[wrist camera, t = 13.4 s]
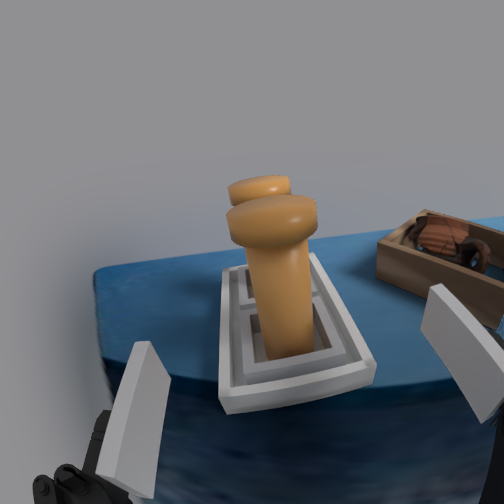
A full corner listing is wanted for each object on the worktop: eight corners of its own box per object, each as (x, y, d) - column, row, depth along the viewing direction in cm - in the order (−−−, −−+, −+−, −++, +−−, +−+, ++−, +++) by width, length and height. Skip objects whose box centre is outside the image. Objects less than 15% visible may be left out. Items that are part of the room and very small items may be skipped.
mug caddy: (422, 237, 36) (424, 209, 34) (512, 269, 23) (520, 238, 21) (375, 277, 29) (377, 242, 27) (496, 330, 17) (511, 292, 15)
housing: (372, 384, 17) (378, 359, 16) (226, 414, 17) (216, 393, 16) (314, 269, 34) (313, 247, 32) (226, 285, 34) (221, 264, 32)
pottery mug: (385, 280, 29) (395, 211, 29) (423, 285, 33) (432, 227, 33) (473, 301, 18) (484, 212, 18) (495, 301, 22) (504, 232, 22)
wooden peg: (293, 320, 25) (277, 191, 20) (336, 348, 21) (334, 202, 15) (245, 349, 22) (211, 213, 17) (285, 386, 18) (260, 231, 13)
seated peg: (279, 276, 32) (264, 173, 27) (312, 294, 28) (302, 177, 23) (241, 296, 30) (217, 187, 24) (271, 319, 25) (249, 194, 20)
